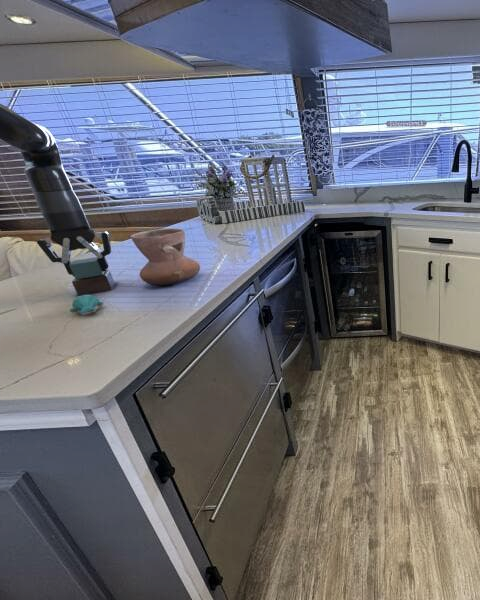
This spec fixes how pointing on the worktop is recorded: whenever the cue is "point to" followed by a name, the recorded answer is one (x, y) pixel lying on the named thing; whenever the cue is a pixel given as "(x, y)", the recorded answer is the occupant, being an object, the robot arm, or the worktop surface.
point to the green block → (86, 268)
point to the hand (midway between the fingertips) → (90, 272)
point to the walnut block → (94, 284)
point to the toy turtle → (85, 304)
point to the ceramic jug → (165, 256)
